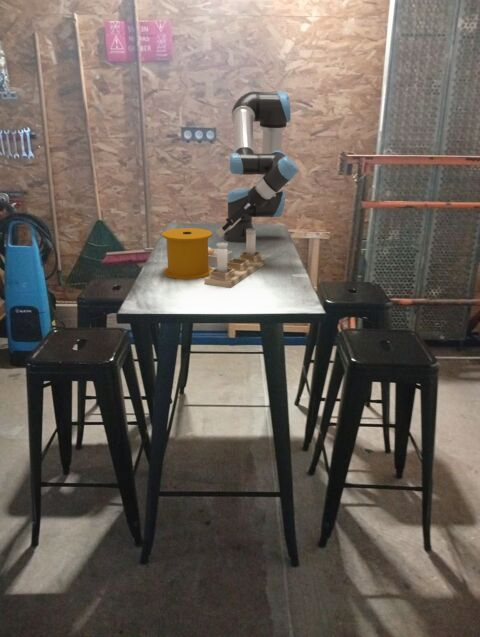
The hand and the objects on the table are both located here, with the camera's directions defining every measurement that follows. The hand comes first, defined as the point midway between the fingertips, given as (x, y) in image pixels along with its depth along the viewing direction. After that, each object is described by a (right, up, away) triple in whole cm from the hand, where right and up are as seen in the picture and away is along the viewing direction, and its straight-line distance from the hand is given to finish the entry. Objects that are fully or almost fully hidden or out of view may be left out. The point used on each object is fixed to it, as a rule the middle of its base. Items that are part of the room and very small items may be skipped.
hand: (222, 231), depth 187 cm
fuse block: (+6, -17, -7) cm, 19 cm away
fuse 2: (+11, -11, +4) cm, 16 cm away
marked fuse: (-1, -10, +3) cm, 10 cm away
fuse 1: (0, -19, -19) cm, 27 cm away
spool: (-13, -17, -6) cm, 22 cm away
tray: (-3, -11, +7) cm, 14 cm away
